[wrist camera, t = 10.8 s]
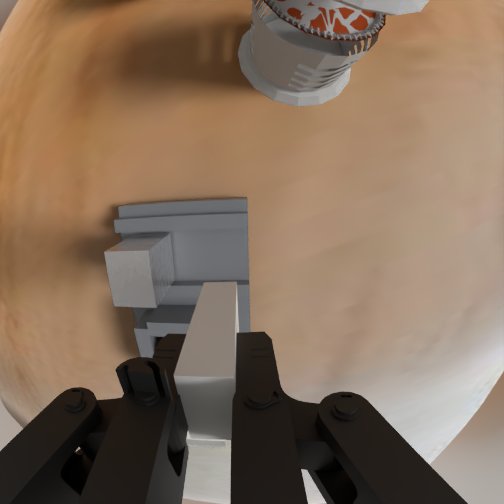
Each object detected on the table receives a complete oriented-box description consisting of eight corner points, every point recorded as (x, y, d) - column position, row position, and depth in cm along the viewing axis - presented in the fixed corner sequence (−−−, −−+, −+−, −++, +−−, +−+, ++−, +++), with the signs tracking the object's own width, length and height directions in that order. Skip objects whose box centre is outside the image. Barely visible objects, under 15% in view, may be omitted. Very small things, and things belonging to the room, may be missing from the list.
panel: (168, 411, 27) (160, 442, 23) (128, 203, 21) (99, 211, 16) (252, 414, 28) (253, 447, 23) (247, 197, 21) (247, 202, 16)
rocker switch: (185, 432, 24) (183, 446, 22) (171, 404, 21) (168, 421, 19) (226, 434, 24) (226, 449, 22) (220, 407, 21) (219, 424, 19)
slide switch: (139, 278, 20) (114, 306, 16) (134, 234, 19) (104, 251, 15) (175, 278, 20) (156, 307, 16) (170, 232, 20) (148, 250, 15)
